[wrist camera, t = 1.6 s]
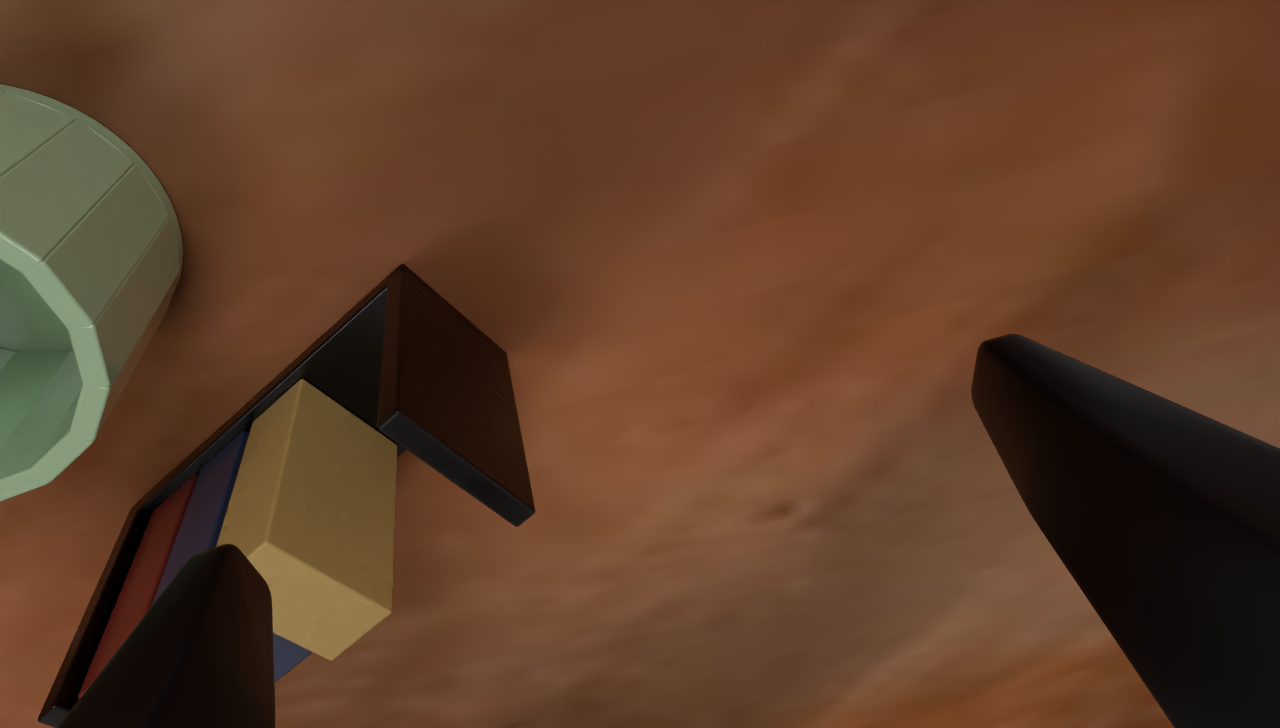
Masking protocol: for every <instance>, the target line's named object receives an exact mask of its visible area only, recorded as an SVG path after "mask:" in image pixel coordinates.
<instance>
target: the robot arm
mask: <svg viewBox="0 0 1280 728" xmlns="http://www.w3.org/2000/svg"><path fill="white" fill-rule="evenodd" d="M971 393H972V400H973V404H974V407H975V409H976V411H977V413H978V415H979V417H980V419H981V421H982V423H983V425H984V427H985V429H986V430H987V432H988V434H989V436H990V438H991V440H992V442H993V444H994V446H995V448H996V450H997V452H998V454H999V455H1000V457H1001V459H1002V461H1003V463H1004V465H1005V467H1006V469H1007V471H1008V473H1009V475H1010V477H1011V479H1012V480H1013V482H1014V484H1015V486H1016V488H1017V490H1018V492H1019V494H1020V496H1021V498H1022V499H1023V501H1024V503H1025V505H1026V507H1027V508H1028V510H1029V512H1030V514H1031V515H1032V517H1033V518H1034V520H1035V521H1036V523H1037V524H1038V526H1039V528H1040V529H1041V531H1042V532H1043V534H1044V535H1045V537H1046V538H1047V540H1048V541H1049V543H1050V544H1051V545H1052V547H1053V548H1054V550H1055V551H1056V553H1057V554H1058V556H1059V557H1060V559H1061V560H1062V562H1063V563H1064V565H1065V566H1066V568H1067V569H1068V571H1069V572H1070V574H1071V575H1072V577H1073V578H1074V580H1075V581H1076V583H1077V584H1078V585H1079V587H1080V588H1081V590H1082V591H1083V593H1084V594H1085V596H1086V597H1087V599H1088V600H1089V602H1090V603H1091V605H1092V606H1093V608H1094V609H1095V611H1096V612H1097V614H1098V615H1099V617H1100V618H1101V620H1102V621H1103V623H1104V624H1105V625H1106V627H1107V628H1108V630H1109V631H1110V633H1111V634H1112V636H1113V637H1114V639H1115V640H1116V642H1117V643H1118V645H1119V646H1120V648H1121V649H1122V651H1123V652H1124V654H1125V655H1126V657H1127V658H1128V660H1129V661H1130V663H1131V664H1132V665H1133V667H1134V668H1135V670H1136V671H1137V673H1138V674H1139V676H1140V677H1141V679H1142V680H1143V682H1144V683H1145V685H1146V686H1147V688H1148V689H1149V691H1150V692H1151V694H1152V695H1153V697H1154V698H1155V700H1156V701H1157V703H1158V704H1159V705H1160V707H1161V708H1162V710H1163V711H1164V713H1165V714H1166V716H1167V717H1168V719H1169V720H1170V722H1171V723H1172V725H1173V726H1174V728H1280V449H1279V448H1277V447H1275V446H1272V445H1270V444H1268V443H1265V442H1263V441H1261V440H1259V439H1256V438H1254V437H1252V436H1249V435H1247V434H1245V433H1243V432H1240V431H1238V430H1236V429H1234V428H1231V427H1229V426H1227V425H1224V424H1222V423H1220V422H1218V421H1215V420H1213V419H1211V418H1208V417H1206V416H1204V415H1202V414H1199V413H1197V412H1195V411H1192V410H1190V409H1188V408H1186V407H1183V406H1181V405H1179V404H1176V403H1174V402H1172V401H1170V400H1167V399H1165V398H1163V397H1160V396H1158V395H1156V394H1154V393H1151V392H1149V391H1147V390H1144V389H1142V388H1140V387H1138V386H1135V385H1133V384H1131V383H1129V382H1126V381H1124V380H1122V379H1119V378H1117V377H1115V376H1113V375H1110V374H1108V373H1106V372H1103V371H1101V370H1099V369H1097V368H1094V367H1092V366H1090V365H1087V364H1085V363H1083V362H1081V361H1078V360H1076V359H1074V358H1071V357H1069V356H1067V355H1065V354H1062V353H1060V352H1058V351H1055V350H1053V349H1051V348H1049V347H1046V346H1044V345H1042V344H1039V343H1037V342H1035V341H1033V340H1030V339H1028V338H1026V337H1023V336H1021V335H1018V334H1008V335H1004V336H1000V337H997V338H993V339H989V340H986V341H984V342H982V343H981V345H980V346H979V348H978V351H977V357H976V363H975V370H974V376H973V382H972V390H971ZM57 728H275V685H274V650H273V615H272V597H271V592H270V589H269V587H268V585H267V583H266V581H265V580H264V578H263V577H262V576H261V575H260V573H259V572H258V571H257V570H256V569H255V567H254V566H253V565H252V564H251V562H250V561H249V560H248V559H247V557H246V556H245V555H244V554H243V553H242V551H241V550H240V549H239V548H238V547H237V546H235V545H232V544H224V545H220V546H216V547H212V548H209V549H205V550H201V551H198V552H196V553H195V554H193V555H192V556H191V557H190V558H189V559H188V560H187V562H186V563H185V564H184V566H183V567H182V568H181V569H180V571H179V572H178V573H177V575H176V576H175V577H174V578H173V580H172V581H171V582H170V584H169V585H168V586H167V587H166V589H165V590H164V591H163V593H162V594H161V595H160V596H159V598H158V599H157V600H156V602H155V603H154V604H153V605H152V607H151V608H150V609H149V611H148V612H147V613H146V614H145V616H144V617H143V618H142V620H141V621H140V622H139V623H138V625H137V626H136V627H135V629H134V630H133V631H132V632H131V634H130V635H129V636H128V638H127V639H126V640H125V641H124V643H123V644H122V645H121V647H120V648H119V649H118V650H117V652H116V653H115V654H114V655H113V657H112V658H111V659H110V661H109V662H108V663H107V664H106V666H105V667H104V668H103V670H102V671H101V672H100V673H99V675H98V676H97V677H96V679H95V680H94V681H93V682H92V684H91V685H90V686H89V688H88V689H87V690H86V691H85V693H84V694H83V695H82V697H81V698H80V699H79V700H78V702H77V703H76V704H75V706H74V707H73V708H72V709H71V711H70V712H69V713H68V715H67V716H66V717H65V718H64V720H63V721H62V722H61V724H60V725H59V726H58V727H57Z"/></svg>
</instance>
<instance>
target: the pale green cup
mask: <svg viewBox="0 0 1280 728" xmlns="http://www.w3.org/2000/svg"><path fill="white" fill-rule="evenodd" d="M182 261H183V245H182V235H181V231H180V227H179V223H178V219H177V216H176V213H175V211H174V208H173V206H172V204H171V201H170V199H169V197H168V195H167V194H166V192H165V190H164V189H163V187H162V185H161V183H160V182H159V180H158V179H157V178H156V176H155V175H154V174H153V172H152V171H151V170H150V168H149V167H148V166H147V164H146V163H145V162H144V161H143V160H142V159H141V158H140V157H139V156H138V155H137V154H136V153H135V152H134V150H133V149H132V148H130V147H129V146H128V145H127V144H126V143H125V142H123V141H122V140H121V139H120V138H119V137H118V136H117V135H115V134H114V133H113V132H111V131H110V130H108V129H107V128H106V127H104V126H103V125H101V124H100V123H98V122H97V121H96V120H94V119H92V118H90V117H89V116H87V115H85V114H83V113H82V112H80V111H78V110H76V109H74V108H72V107H70V106H68V105H66V104H63V103H61V102H59V101H57V100H54V99H52V98H49V97H46V96H43V95H40V94H37V93H34V92H31V91H28V90H24V89H20V88H15V87H11V86H6V85H1V84H0V501H3V500H6V499H8V498H11V497H14V496H16V495H19V494H22V493H25V492H27V491H30V490H33V489H36V488H38V487H41V486H44V485H46V484H48V483H49V482H52V481H53V480H54V479H55V478H57V477H58V476H59V475H60V474H61V473H62V472H63V471H64V470H65V469H66V468H67V467H68V466H69V465H70V464H71V463H73V462H74V461H75V460H76V459H77V458H78V457H79V456H80V455H81V454H82V453H83V452H84V451H85V450H86V449H87V448H89V447H90V446H91V445H92V444H93V443H94V441H95V439H96V438H97V436H98V434H99V432H100V431H101V429H102V427H103V425H104V423H105V422H106V420H107V418H108V416H109V415H110V413H111V411H112V409H113V407H114V406H115V404H116V402H117V400H118V398H119V397H120V395H121V393H122V391H123V389H124V388H125V386H126V384H127V382H128V381H129V379H130V377H131V375H132V373H133V372H134V370H135V368H136V366H137V364H138V363H139V361H140V359H141V357H142V355H143V354H144V352H145V350H146V348H147V347H148V345H149V343H150V341H151V339H152V338H153V336H154V334H155V332H156V330H157V329H158V327H159V325H160V323H161V321H162V320H163V318H164V316H165V314H166V312H167V309H168V306H169V303H170V300H171V298H172V297H173V295H174V292H175V290H176V287H177V285H178V282H179V279H180V274H181V270H182Z"/></svg>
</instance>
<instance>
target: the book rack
mask: <svg viewBox="0 0 1280 728" xmlns="http://www.w3.org/2000/svg"><path fill="white" fill-rule="evenodd" d="M406 449H407V450H408V451H409V452H411V453H412V454H414V455H415V456H417V457H418V458H419V459H421V460H422V461H424V462H425V463H426V464H428V465H429V466H431V467H432V468H433V469H435V470H436V471H438V472H439V473H441V474H442V475H443V476H445V477H446V478H448V479H449V480H450V481H452V482H453V483H455V484H456V485H458V486H459V487H460V488H462V489H463V490H465V491H466V492H467V493H469V494H470V495H472V496H473V497H475V498H476V499H477V500H479V501H480V502H482V503H483V504H484V505H486V506H487V507H489V508H490V509H492V510H493V511H494V512H496V513H497V514H499V515H500V516H501V517H503V518H504V519H506V520H507V521H508V522H510V523H511V524H513V525H514V526H516V527H517V526H519V525H521V524H522V523H523V522H524V521H526V520H527V519H528V518H529V517H531V516H532V515H533V514H534V513H535V506H534V501H533V495H532V490H531V485H530V479H529V474H528V468H527V463H526V457H525V452H524V446H523V441H522V435H521V430H520V425H519V419H518V414H517V408H516V403H515V397H514V392H513V386H512V381H511V376H510V370H509V365H508V359H507V354H506V352H505V351H503V350H502V349H501V348H500V347H499V346H498V345H497V344H495V343H494V342H493V341H492V340H491V339H490V338H488V337H487V336H486V335H485V334H484V333H483V332H481V331H480V330H479V329H478V328H477V327H476V326H475V325H473V324H472V323H471V322H470V321H469V320H468V319H466V318H465V317H464V316H463V315H462V314H461V313H460V312H458V311H457V310H456V309H455V308H454V307H453V306H451V305H450V304H449V303H448V302H447V301H446V300H445V299H443V298H442V297H441V296H440V295H439V294H438V293H436V292H435V291H434V290H433V289H432V288H431V287H430V286H428V285H427V284H426V283H425V282H424V281H423V280H421V279H420V278H419V277H418V276H417V275H416V274H415V273H413V272H412V271H411V270H410V269H409V268H408V267H406V266H405V265H404V264H402V265H400V266H399V267H398V268H397V269H396V270H394V271H393V272H392V273H391V274H390V275H389V276H388V277H387V278H386V279H385V280H383V281H382V282H381V283H380V284H379V285H378V286H377V287H376V288H375V289H373V290H372V291H371V292H370V293H369V294H368V295H367V296H366V297H365V298H364V299H362V300H361V301H360V302H359V303H358V304H357V305H356V306H355V307H354V308H352V309H351V310H350V311H349V312H348V313H347V314H346V315H345V316H344V317H342V318H341V319H340V320H339V321H338V322H337V323H336V324H335V325H334V326H333V327H331V328H330V329H329V330H328V331H327V332H326V333H325V334H324V335H323V336H321V337H320V338H319V339H318V340H317V341H316V342H315V343H314V344H313V345H311V346H310V347H309V348H308V349H307V350H306V351H305V352H304V353H303V354H302V355H300V356H299V357H298V358H297V359H296V360H295V361H294V362H293V363H292V364H290V365H289V366H288V367H287V368H286V369H285V370H284V371H283V372H282V373H281V374H279V375H278V376H277V377H276V378H275V379H274V380H273V381H272V382H271V383H269V384H268V385H267V386H266V387H265V388H264V389H263V390H262V391H261V392H259V393H258V394H257V395H256V396H255V397H254V398H253V399H252V400H251V401H250V402H248V403H247V404H246V405H245V406H244V407H243V408H242V409H241V410H240V411H238V412H237V413H236V414H235V415H234V416H233V417H232V418H231V419H230V420H228V421H227V422H226V423H225V424H224V425H223V426H222V427H221V428H220V429H219V430H217V431H216V432H215V433H214V434H213V435H212V436H211V437H210V438H209V439H207V440H206V441H205V442H204V443H203V444H202V445H201V446H200V447H199V448H198V449H196V450H195V451H194V452H193V453H192V454H191V455H190V456H189V457H188V458H186V459H185V460H184V461H183V462H182V463H181V464H180V465H179V466H178V467H176V468H175V469H174V470H173V471H172V472H171V473H170V474H169V475H168V476H167V477H165V478H164V479H163V480H162V481H161V482H160V483H159V484H158V485H157V486H155V487H154V488H153V489H152V490H151V491H150V492H149V493H148V494H147V495H146V496H144V497H143V498H142V499H141V500H140V501H139V502H138V503H137V504H135V505H134V506H133V507H132V508H131V510H130V512H129V514H128V517H127V519H126V521H125V523H124V526H123V528H122V530H121V532H120V535H119V537H118V539H117V541H116V544H115V546H114V548H113V550H112V553H111V555H110V557H109V559H108V562H107V564H106V566H105V568H104V571H103V573H102V575H101V577H100V580H99V582H98V584H97V586H96V589H95V591H94V593H93V595H92V598H91V600H90V602H89V604H88V607H87V609H86V611H85V614H84V616H83V618H82V620H81V623H80V625H79V627H78V629H77V632H76V634H75V636H74V638H73V641H72V643H71V645H70V647H69V650H68V652H67V654H66V656H65V659H64V661H63V663H62V665H61V668H60V670H59V672H58V674H57V677H56V679H55V681H54V683H53V686H52V688H51V690H50V692H49V695H48V697H47V699H46V701H45V704H44V706H43V708H42V710H41V713H40V715H39V717H38V721H39V722H40V723H43V724H46V725H49V726H52V727H55V728H57V727H58V726H59V725H60V724H61V722H62V721H63V720H64V718H65V717H66V716H67V715H68V713H69V712H70V711H71V709H72V708H73V707H74V706H75V704H76V703H77V702H78V700H79V699H80V698H81V697H82V695H83V694H84V693H85V691H86V690H87V689H88V688H89V686H90V685H91V684H92V682H93V681H94V680H95V679H96V677H97V676H98V675H99V673H100V672H101V671H102V670H103V668H104V667H105V666H106V664H107V663H108V662H109V661H110V659H111V658H112V657H113V655H114V654H115V653H116V652H117V650H118V649H119V648H120V647H121V645H122V644H123V643H124V641H125V640H126V639H127V638H128V636H129V635H130V634H131V632H132V631H133V630H134V629H135V627H136V626H137V625H138V623H139V622H140V621H141V620H142V618H143V617H144V616H145V614H146V613H147V612H148V611H149V609H150V608H151V607H152V605H153V604H154V603H155V602H156V600H157V599H158V598H159V596H160V595H161V594H162V593H163V591H164V590H165V589H166V587H167V586H168V585H169V584H170V582H171V581H172V580H173V578H174V577H175V576H176V575H177V573H178V572H179V571H180V569H181V568H182V567H183V566H184V564H185V563H186V562H187V560H188V559H189V558H190V557H191V556H192V555H193V554H195V553H196V552H198V551H201V550H205V549H209V548H212V547H216V546H220V545H224V544H232V545H235V546H237V547H238V548H239V549H240V550H241V551H242V553H243V554H244V555H245V556H246V557H247V559H248V560H249V561H250V562H251V564H252V565H253V566H254V567H255V569H256V570H257V571H258V572H259V573H260V575H261V576H262V577H263V578H264V580H265V581H266V583H267V585H268V587H269V589H270V592H271V597H272V615H273V650H274V682H276V681H277V680H279V679H280V678H281V677H282V676H284V675H285V674H286V673H287V672H289V671H290V670H291V669H292V668H294V667H295V666H296V665H297V664H298V663H300V662H301V661H302V660H303V659H305V658H306V657H307V656H308V655H310V654H311V653H312V652H313V653H315V654H317V655H319V656H322V657H324V658H326V659H328V660H330V661H332V660H334V659H335V658H337V657H338V656H339V655H340V654H342V653H343V652H344V651H345V650H346V649H348V648H349V647H350V646H351V645H353V644H354V643H355V642H356V641H358V640H359V639H360V638H361V637H363V636H364V635H365V634H366V633H368V632H369V631H370V630H371V629H373V628H374V627H375V626H376V625H378V624H379V623H380V622H381V621H383V620H384V619H385V618H386V617H388V616H389V615H390V614H391V612H392V595H393V565H394V535H395V504H396V474H397V457H398V456H399V455H400V454H401V453H403V452H404V451H405V450H406Z"/></svg>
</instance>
